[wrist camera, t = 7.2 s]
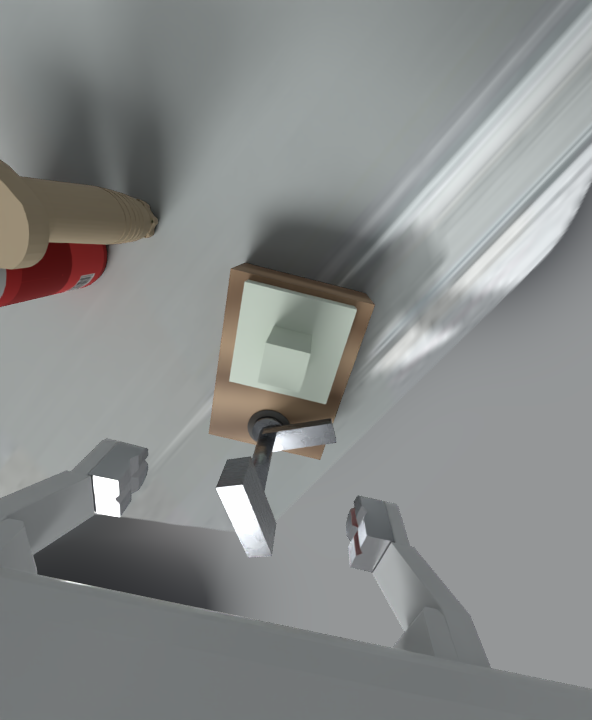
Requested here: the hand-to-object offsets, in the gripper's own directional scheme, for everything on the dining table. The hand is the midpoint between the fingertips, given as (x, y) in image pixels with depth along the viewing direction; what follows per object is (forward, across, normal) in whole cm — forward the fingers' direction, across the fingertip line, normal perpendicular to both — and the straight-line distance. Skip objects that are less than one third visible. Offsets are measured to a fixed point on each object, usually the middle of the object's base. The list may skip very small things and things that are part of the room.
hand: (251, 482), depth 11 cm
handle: (+21, +16, -6) cm, 27 cm away
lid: (+15, 0, 0) cm, 16 cm away
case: (+20, 0, +4) cm, 21 cm away
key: (+15, -2, +9) cm, 18 cm away
